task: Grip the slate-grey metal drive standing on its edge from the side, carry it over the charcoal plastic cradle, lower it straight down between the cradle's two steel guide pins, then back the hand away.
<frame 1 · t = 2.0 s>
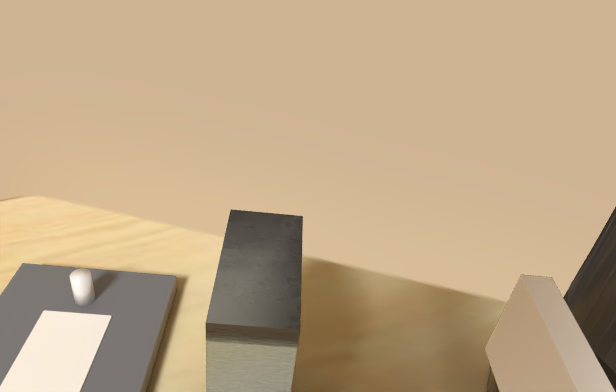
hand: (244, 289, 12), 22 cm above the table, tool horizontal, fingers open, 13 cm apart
cradle: (56, 379, 33), on the table
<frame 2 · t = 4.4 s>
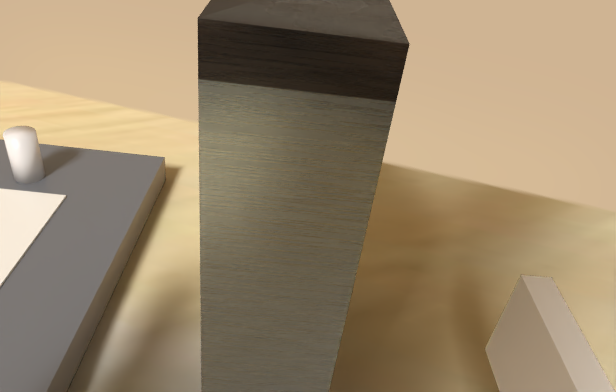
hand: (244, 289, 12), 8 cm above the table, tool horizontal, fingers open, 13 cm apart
drive: (269, 342, 21), on the table
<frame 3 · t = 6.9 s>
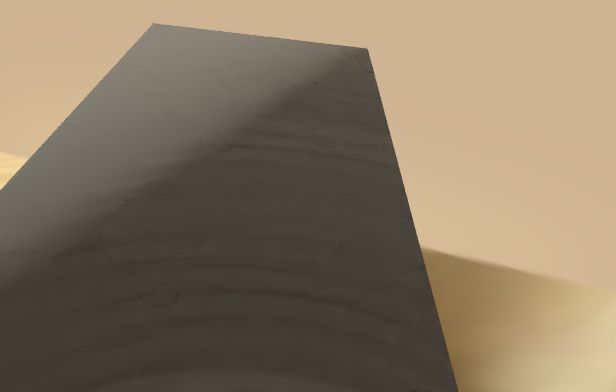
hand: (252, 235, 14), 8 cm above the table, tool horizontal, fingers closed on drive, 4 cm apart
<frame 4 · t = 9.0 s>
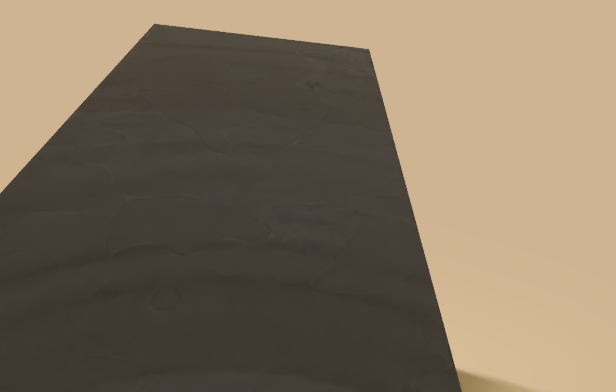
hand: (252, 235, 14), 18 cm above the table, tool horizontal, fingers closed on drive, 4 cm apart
when the fingers open (10 cm above the table, at t = 11.2 s): drive stays where it is, resting on cradle.
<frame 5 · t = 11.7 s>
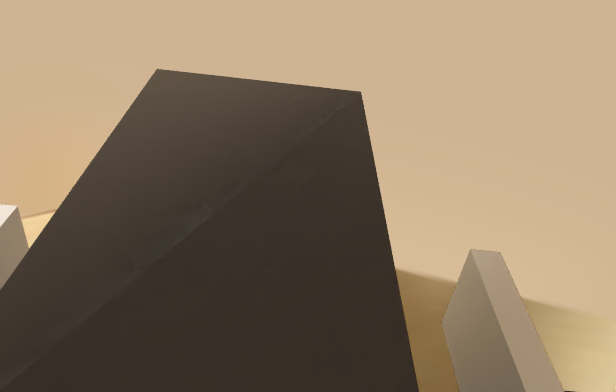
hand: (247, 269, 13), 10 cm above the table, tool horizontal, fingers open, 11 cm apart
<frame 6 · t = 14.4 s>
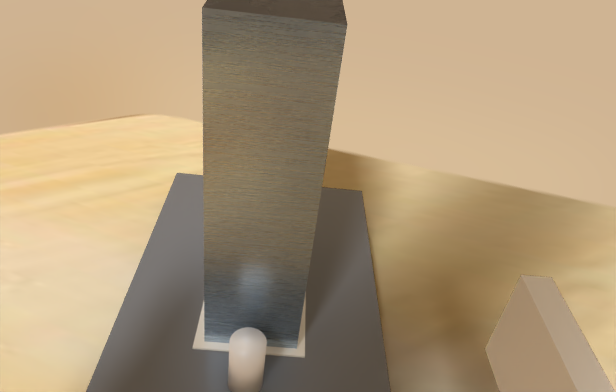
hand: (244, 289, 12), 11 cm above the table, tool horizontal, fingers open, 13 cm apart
drive: (258, 279, 25), point 2 cm above the table, touching cradle
cradle: (256, 301, 26), on the table
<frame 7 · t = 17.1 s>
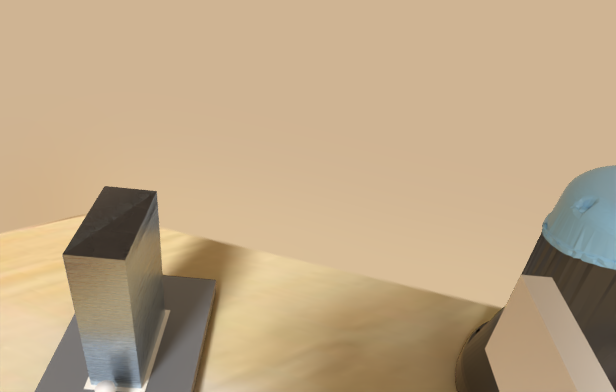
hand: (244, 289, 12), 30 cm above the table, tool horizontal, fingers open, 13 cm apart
drive: (131, 346, 44), point 2 cm above the table, touching cradle
cradle: (132, 357, 45), on the table
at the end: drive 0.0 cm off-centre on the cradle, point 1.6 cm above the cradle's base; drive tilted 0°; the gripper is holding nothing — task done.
